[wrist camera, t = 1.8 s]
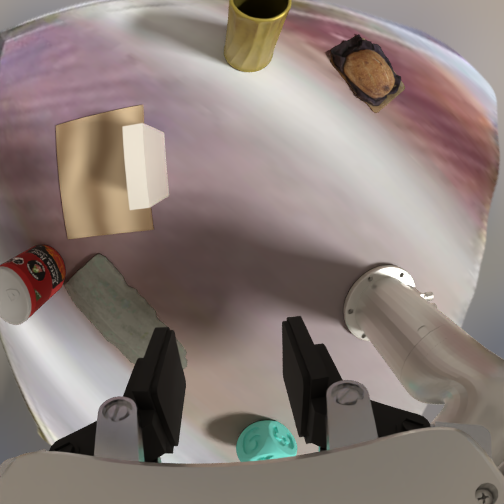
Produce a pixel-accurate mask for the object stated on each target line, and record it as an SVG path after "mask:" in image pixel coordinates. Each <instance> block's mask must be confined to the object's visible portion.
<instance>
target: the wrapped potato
mask: <svg viewBox="0 0 504 504" xmlns="http://www.w3.org/2000/svg"><path fill="white" fill-rule="evenodd" d="M330 61H331V62H332V64H333V66H334V67H335V68H336V69H337V71H338V72H339V73H340V75H341V76H342V77H343V79H345V80H346V82H347V83H348V84H349V85H350V86H351V87H352V88H353V89H352V91H354V93H355V94H357V97H358V98H360V99H362V101H363V102H365V103H366V104H367V105H368V106H369V107H370V108H371V110H372V111H373V112H375V113H378V112H379V111H380V110H381V109H382V108H383V107H385V106H386V105H387V104H388V103H389V102H391V101H392V100H393V99H394V98H395V97H396V96H397V95H399V94H400V93H401V92H402V91H403V90H404V89H405V86H404V84H403V83H402V81H401V76H398V75H397V74H396V73H395V72H394V71H393V68H392V66H391V63H390V61H389V60H388V58H387V57H386V56H385V55H384V53H383V51H382V50H381V47H380V46H379V45H377V44H372V43H371V42H370V41H367V40H365V39H364V38H361V37H360V35H359V34H358V35H357V36H355V37H353V38H351V39H350V40H348V41H344V42H343V43H341V44H339V45H337V46H335V47H334V48H333V49H332V50H331V60H330Z"/></svg>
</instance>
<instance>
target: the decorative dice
mask: <svg viewBox="0 0 504 504" xmlns="http://www.w3.org/2000/svg"><path fill="white" fill-rule="evenodd" d="M236 452H237V455H238V458H239V460H240V461H241V462H248V461H259V460H268V459H277V458H284V457H291V456H296V453H297V444H296V441H295V439H294V437H293V435H292V434H291V433H290V431H289V430H288V429H287V428H286V427H285V426H284V425H282V424H281V423H279V422H276V421H271V420H264V421H259V422H255V423H253V424H251V425H249V426H248V427H247V428H246V429H245V430H244V431H243V432H242V433H241V435H240V436H239V438H238V441H237V445H236Z"/></svg>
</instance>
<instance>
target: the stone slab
mask: <svg viewBox="0 0 504 504" xmlns="http://www.w3.org/2000/svg"><path fill="white" fill-rule="evenodd" d="M65 288H66V289H67V291H68V294H69V295H70V296H71V298H72V300H73V302H74V303H75V305H76V306H77V307H78V308H79V309H80V310H81V312H82V313H84V314H85V315H86V317H87V318H88V319H89V320H90V322H91V323H93V324H94V325H95V327H96V328H97V329H98V330H99V331H100V332H101V334H102V335H103V336H104V337H105V339H106V340H107V341H109V342H110V343H112V344H113V345H115V346H116V347H117V348H118V349H119V350H120V351H121V352H122V354H123V355H125V356H126V358H127V359H129V361H130V362H132V363H134V364H135V363H136V361H137V359H138V358H144V355H145V353H146V350H147V347H148V345H149V342H150V339H151V337H152V334H153V331H154V329H155V328H156V327H167V326H166V325H165V324H164V323H162V322H161V321H160V320H159V319H158V318H157V316H156V311H155V310H154V309H153V308H152V307H150V306H149V305H148V303H147V301H146V300H145V299H144V298H143V297H141V296H140V295H139V294H138V292H137V290H136V289H134V288H132V287H129V286H127V284H126V282H125V281H124V278H123V276H122V275H121V274H120V273H119V272H118V271H117V269H116V268H115V267H114V266H113V264H112V263H111V262H109V261H108V260H107V258H106V257H104V256H102V255H100V254H97V255H95V256H94V257H93V258H92V259H91V260H90V261H89V262H88V263H87V264H86V265H85V266H83V267H82V268H81V269H80V270H79V271H78V272H77V273H76V274H75V275H74V276H73V277H72V278H71V279H70V280H69V281H68V282H67V283H66V284H65ZM176 342H177V346H178V351H179V355H180V359H181V364H182V368H183V369H184V368H186V367H187V359H186V358H185V356H186V350H185V349H184V347H183V346H182V345H181V343H180V342H179V341H178V340H177V339H176Z"/></svg>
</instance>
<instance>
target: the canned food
mask: <svg viewBox="0 0 504 504" xmlns="http://www.w3.org/2000/svg"><path fill="white" fill-rule="evenodd" d="M65 275H66V270H65V265H64V262H63V260H62V258H61V256H60V255H59V253H58V252H57V251H56V250H55V249H53V248H52V247H50V246H47V245H37V246H34V247H32V248H30V249H28V250H27V251H25V252H23V253H21V254H19V255H17V256H16V257H14V258H12V259H10V260H9V261H7V262H5V263H3V264H2V265H0V317H1V318H2V319H3V320H4V321H6V322H8V323H10V324H13V325H19V324H22V323H23V322H25V321H26V320H27V319H28V318H29V317H30V316H32V315H33V314H34V313H35V312H36V311H37V310H38V309H39V308H40V307H41V306H42V305H43V304H44V303H45V302H46V301H47V300H48V299H49V298H51V297H52V296H53V295H54V294H55V293H56V292H57V291H58V290H59V289H60V288H61V287H62V285H63V282H64V280H65Z"/></svg>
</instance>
